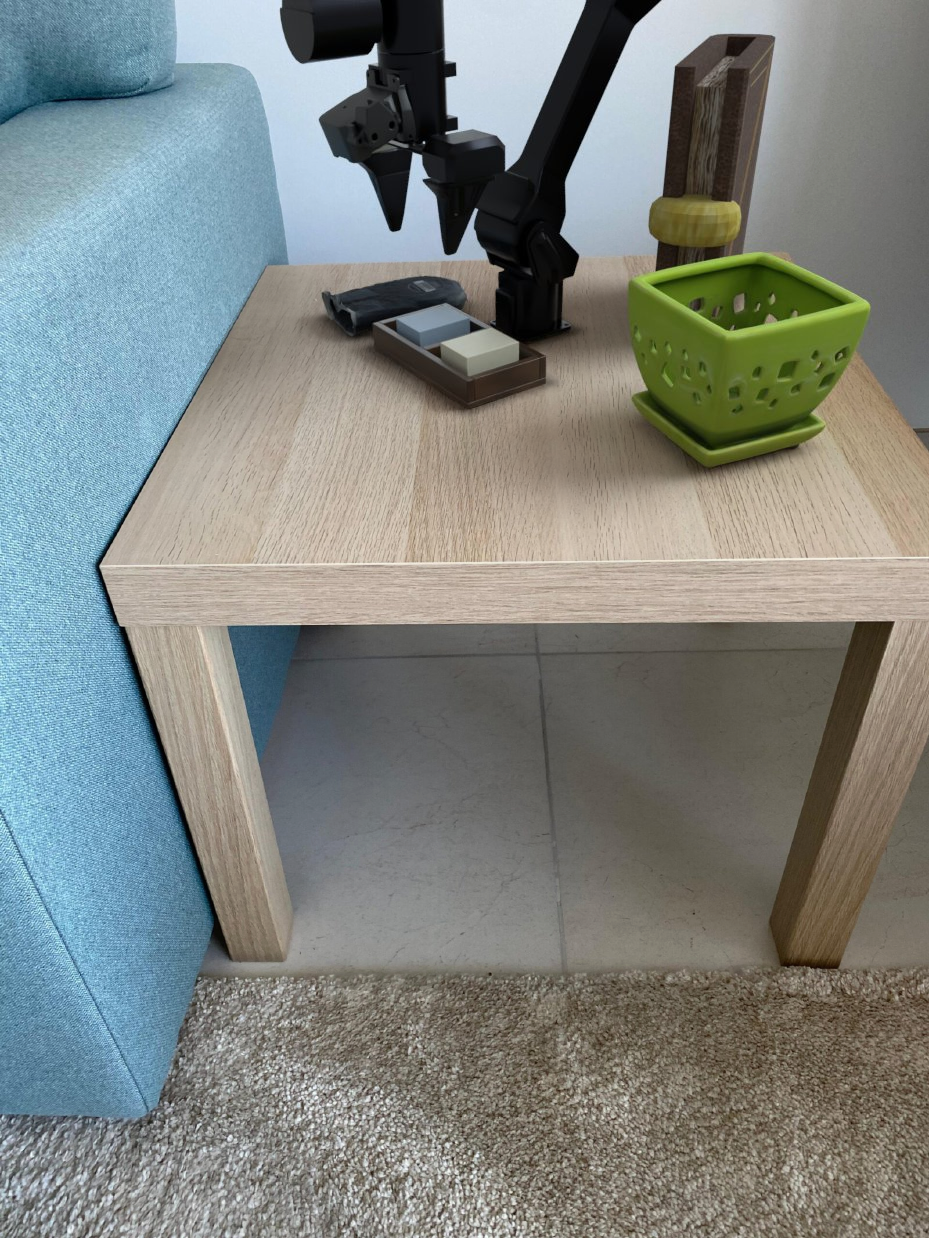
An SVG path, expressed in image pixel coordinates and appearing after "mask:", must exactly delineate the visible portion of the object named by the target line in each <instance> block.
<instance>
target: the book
mask: <svg viewBox="0 0 929 1238" xmlns="http://www.w3.org/2000/svg"><path fill="white" fill-rule="evenodd" d="M775 43H776V36H774V35H773V34H764V33H763V34H761V33H717V34H713V35H709V37H707V38H706V39H704V40H703V42H702V43H700V44H699V45H697V46H696V47H695V48H694V49H693V50H692V51H691V52H689V53H688V54H687V55H686V56H685V57H684V58H683V59H682V60H680V61H679V62H677V64H675V66H674V73H673V82H672V92H671V93H672V94H671V103H670V112H669V113H670V115H669V124H668V126H669V127H668V134H667V145H666V154H665V155H666V157H665V164H664V176H663V185H662V195H661V196H659V197H657V199H655V200H654V201H652V203H651V205H650V207H649V211H648V212H649V213H648V222H647V223H648V224H647V225H648V232H649V234H650V235H651V236H652V237H653V238H654V239H655V240H656V241H657V249H656V260H655V271H654V272H656V271H660V270H664V269H668V268H673V267H678V266H682V265H687V264H692V263H697V262H702V261H707V260H712V259H718V258H723V257H729V256H735V255H741V254H744V248H745V240H746V234H747V226H748V220H749V214H750V207H751V201H752V195H753V194H752V193H753V187H754V182H755V174H756V168H757V162H758V161H757V160H758V156H759V148H760V142H761V135H762V130H763V129H762V128H763V123H764V116H765V109H766V102H767V96H768V90H769V83H770V76H771V70H772V64H773V57H774V49H775V45H776V44H775ZM700 308H701V298H699V299H696V300H693V301H691V303H690V310H692V311H694V312H695V311H698V310H700ZM719 308H720V307H715V308H714V311H713V313H712V317H716V316H717V314H718V311H719Z"/></svg>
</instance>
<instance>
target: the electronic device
mask: <svg viewBox="0 0 929 1238" xmlns="http://www.w3.org/2000/svg"><path fill="white" fill-rule="evenodd" d="M321 299H322V301H323V305H324V307H325V311H326V315H327V317H328V318H329V319H330V320H332V322H335V323H336V325H338V326H339V327H340V328H341V329H342V330H343V331H344V332H345V333H346V334H347V335H348V336H351V337H353V336H355V335H358V334H360V333H363V332H367V331H373V326H372V324H373V323H376V322H379V321H382V320H386V319H390V318H393V317H397V316H400V315H404V314H408V313H411V312H415V311H419V310H422V309H426V308H429V307H433V306H437V305H441V304H444V303H447V304H449V305H451V306H453V307H455V308H457V309H459V310H460V311H462V309H463V308H464V306H465V305H466V303H467V302H468V303H469V301H468V297H467V293H466V292H465V290H464V289H463V287H462V285H461V283H460V281H457V280H454V279H451V278H447V277H442V276H435V275H419V276H411V277H406V278H400V279H399V278H398V279H393V280H389V281H384V282H376V283H374V284H371V285H367V286H363V287H359V288H358V287H357V288H353V289H350V290H347V291H343V292H340V293H335V294H332V293H331V291H329V290H326V291H321Z"/></svg>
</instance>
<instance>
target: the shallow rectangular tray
mask: <svg viewBox="0 0 929 1238" xmlns="http://www.w3.org/2000/svg"><path fill="white" fill-rule="evenodd" d="M444 305H446V306H448V307H450V308H452V309H454V310H455V311H457V312H459V313H461V314H463V315H465V316H467V317H469V318H470V333H468V334H465V335H469V334H472V333H475V332H479V331H482V330H486V329H489V328H493V327H491V326H490V324H487V323H486V322H483V321H481V320H479V319H477V318H476V317H474V316H472V315H470V314H468V313H466V312H464V311H462V310H459V309H457V308H455V307H453V306H451V305H449V304H447V303H444V304H441V305H437V306H433V307H429V308H426V309H422V310H419V311H415V312H411V313H408V314H404V315H400V316H397V317H393V318H390V319H386V320H382V321H379V322H376V323H373V324H372V326H373V330H372V335H373V346H374V347H373V348H374V350H375V351H377V352H378V353H379V354H382V355H383V356H385V357H386V358H387V359H389V360H390V361H392V362H394V363H395V364H397V365H398V366H400V367H401V368H403V369H405V370H406V371H407V372H409V373H411V374H412V375H413V376H415V377H417V378H419V379H420V380H422V381H423V382H425V383H426V384H428V385H430V386H431V387H432V388H434V389H436V390H438V391H439V392H440V393H442V394H443V395H444V396H446V397H448V398H450V399H451V400H453V401H454V402H456V403H457V404H459V405H460V406H462V407H463V408H465V409H467V410H470V409H473V408H476V407H480V406H482V405H486V404H488V403H491V402H494V401H497V400H500V399H503V398H506V397H509V396H512V395H516V394H518V393H520V392H524V391H526V390H531V389H533V388H536V387H539V386H541V385H544V384H546V382H547V378H546V377H547V355H546V354H544V353H542V352H540V351H538V350H537V349H534V348H533V347H531V346H529V345H527V344H526V343H521V342H519V341H518V342H519V361H516V362H513V363H509V364H506V365H503V366H500V367H497V368H494V369H491V370H487V371H484V372H481V373H478V374H475V375H472V376H470V377H469V376H468V375H466V374H464V373H463V372H461V371H459V370H458V369H456V368H455V367H453V366H451V365H450V364H448V363H446V362H445V361H443V360H441V342H445V341H448V340H452V339H455V338H458V337H462V336H465V335H462V336H458V337H455V338H451V339H448V340H445V341H441V342H438V343H434V344H431V345H428V346H424V347H422V348H421V347H420V346H418V345H416V344H415V343H413V342H411V341H410V340H408V339H406V338H405V337H403V336H401V335H400V334H398V333H397V325H396V319H397V318H401V317H404V316H408V315H412V314H415V313H419V312H423V311H426V310H430V309H433V308H437V307H441V306H444ZM493 329H495V328H493ZM495 330H497V329H495ZM497 331H498V330H497ZM499 332H500V331H499ZM501 333H502V332H501ZM503 334H504V333H503ZM505 335H506V334H505ZM506 336H508V335H506ZM508 337H510V336H508ZM510 338H512V337H510ZM512 339H514V338H512ZM514 340H516V339H514ZM516 341H517V340H516Z"/></svg>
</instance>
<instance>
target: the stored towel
mask: <svg viewBox="0 0 929 1238" xmlns="http://www.w3.org/2000/svg"><path fill="white" fill-rule="evenodd" d="M396 325H397V333H398V334H400V335H401V336H403V337H405V338H406V339H408V340H410V341H411V342H413V343H415V344H416V345H418V346H420V347H421V348H422V347H424V346H428V345H431V344H434V343H438V342H441V341H445V340H448V339H451V338H455V337H458V336H462V335H465V334H468V333H470V318H469V317H467V316H465V315H463V314H461V313H459V312H457V311H455V310H454V309H452V308H450V307H448V306H446V305H444V306H441V307H437V308H433V309H430V310H426V311H423V312H419V313H415V314H412V315H408V316H404V317H401V318H397V319H396Z"/></svg>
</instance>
